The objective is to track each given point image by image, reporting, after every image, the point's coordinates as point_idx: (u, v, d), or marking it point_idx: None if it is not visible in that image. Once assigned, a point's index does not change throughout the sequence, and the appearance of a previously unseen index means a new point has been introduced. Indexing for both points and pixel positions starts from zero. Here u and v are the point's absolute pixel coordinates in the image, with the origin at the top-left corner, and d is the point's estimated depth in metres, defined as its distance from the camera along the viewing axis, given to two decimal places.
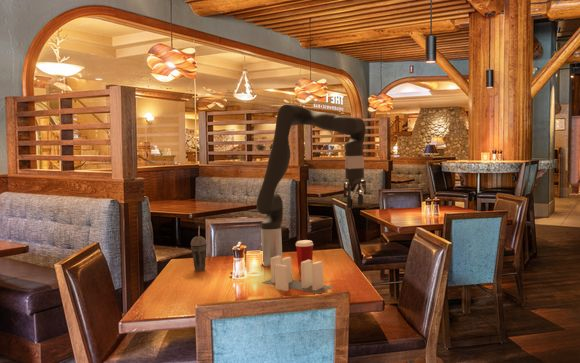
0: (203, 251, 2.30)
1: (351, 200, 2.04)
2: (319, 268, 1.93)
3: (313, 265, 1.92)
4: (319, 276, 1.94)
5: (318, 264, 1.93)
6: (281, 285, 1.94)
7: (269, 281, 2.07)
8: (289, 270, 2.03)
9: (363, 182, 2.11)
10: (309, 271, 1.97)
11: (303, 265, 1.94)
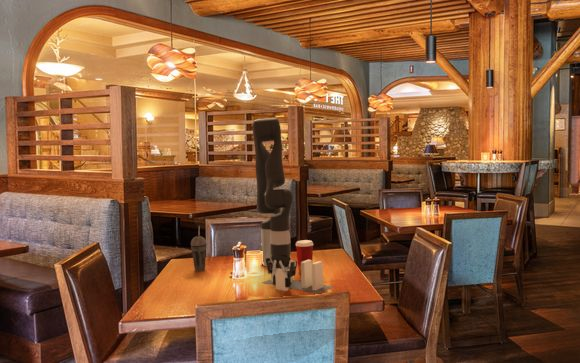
0: (203, 251, 2.30)
1: None
2: (319, 268, 1.93)
3: (313, 265, 1.92)
4: (319, 276, 1.94)
5: (318, 264, 1.93)
6: (281, 285, 1.94)
7: (269, 281, 2.07)
8: None
9: None
10: (309, 271, 1.97)
11: (303, 265, 1.94)
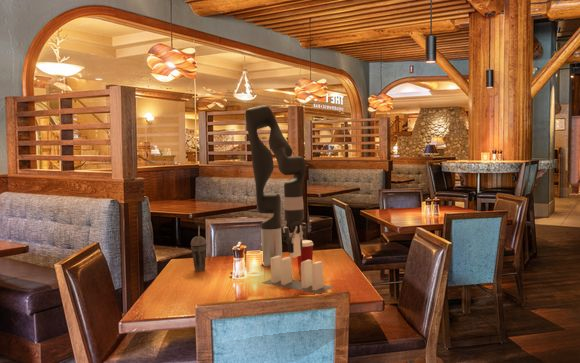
0: (203, 251, 2.30)
1: None
2: (319, 268, 1.93)
3: (313, 265, 1.92)
4: (319, 276, 1.94)
5: (318, 264, 1.93)
6: (297, 250, 1.99)
7: (269, 281, 2.07)
8: (289, 270, 2.03)
9: None
10: (309, 271, 1.97)
11: (303, 265, 1.94)
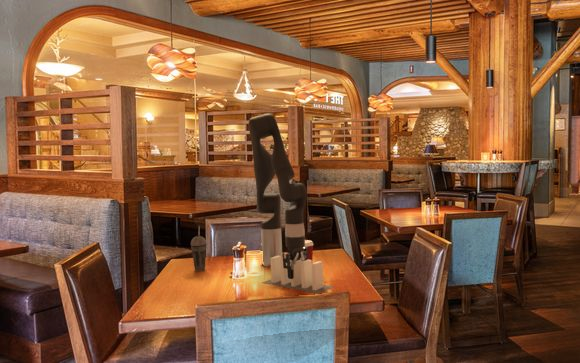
0: (203, 251, 2.30)
1: None
2: (319, 268, 1.93)
3: (313, 265, 1.92)
4: (319, 276, 1.94)
5: (318, 264, 1.93)
6: (298, 278, 2.00)
7: (269, 281, 2.07)
8: None
9: None
10: (309, 271, 1.97)
11: (303, 265, 1.94)
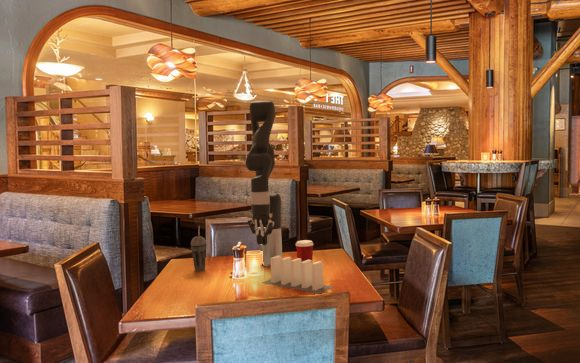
0: (203, 251, 2.30)
1: None
2: (319, 268, 1.93)
3: (313, 265, 1.92)
4: (319, 276, 1.94)
5: (318, 264, 1.93)
6: (298, 278, 2.00)
7: (269, 281, 2.07)
8: (289, 270, 2.03)
9: None
10: (309, 271, 1.97)
11: (303, 265, 1.94)
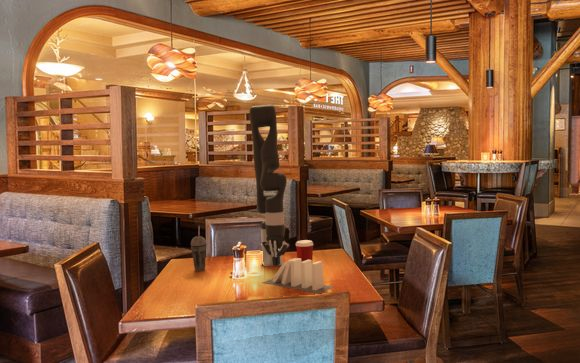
0: (203, 251, 2.30)
1: None
2: (319, 268, 1.93)
3: (313, 265, 1.92)
4: (319, 276, 1.94)
5: (318, 264, 1.93)
6: (298, 278, 2.00)
7: (269, 281, 2.07)
8: None
9: None
10: (309, 271, 1.97)
11: (303, 265, 1.94)
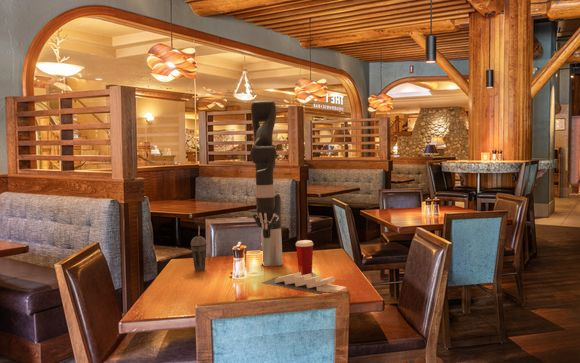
0: (203, 251, 2.30)
1: None
2: None
3: None
4: None
5: None
6: None
7: (269, 281, 2.07)
8: None
9: None
10: None
11: (325, 283, 1.89)
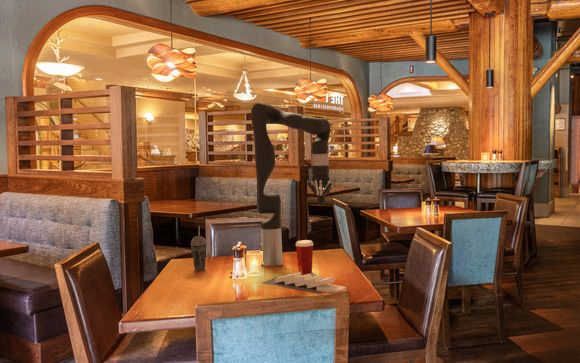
0: (203, 251, 2.30)
1: None
2: None
3: None
4: None
5: None
6: None
7: (269, 281, 2.07)
8: None
9: None
10: None
11: (325, 283, 1.89)
